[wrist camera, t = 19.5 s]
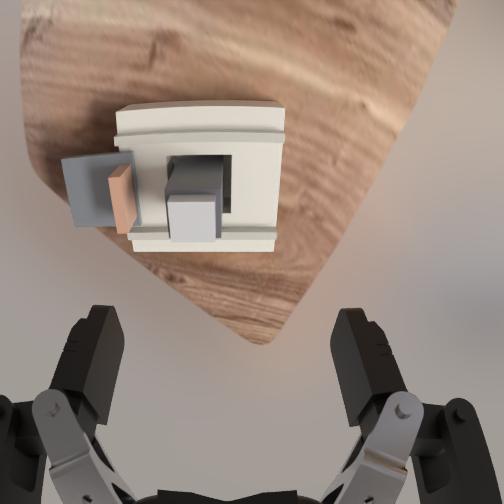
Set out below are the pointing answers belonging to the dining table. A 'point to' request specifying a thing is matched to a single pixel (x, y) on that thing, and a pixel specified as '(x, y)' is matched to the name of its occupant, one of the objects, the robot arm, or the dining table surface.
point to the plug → (195, 199)
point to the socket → (207, 143)
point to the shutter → (103, 190)
